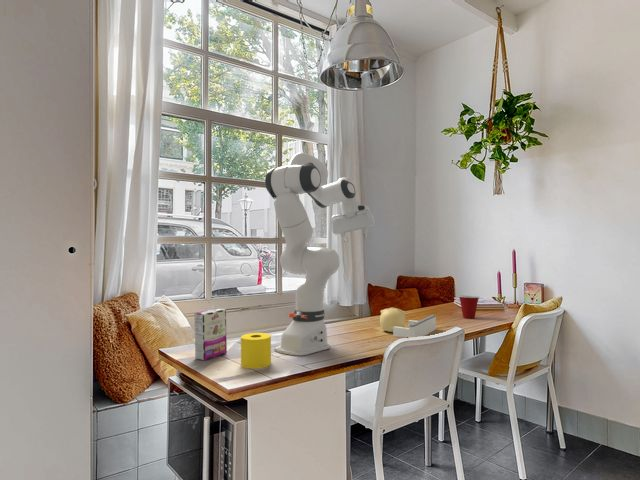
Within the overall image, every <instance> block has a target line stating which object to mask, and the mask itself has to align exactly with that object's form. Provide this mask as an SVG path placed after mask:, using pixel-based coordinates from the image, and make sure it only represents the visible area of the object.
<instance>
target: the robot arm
mask: <svg viewBox="0 0 640 480" xmlns="http://www.w3.org/2000/svg"><path fill="white" fill-rule="evenodd" d="M328 177H329V171H328V168H327V166H326V164H324V162H322V161H321V160H320V159H319V158H317V157H315V156H313V155H312V154H310V153H306V152H303V151H302V152H298V153H296V154H294V155H293V156H292V157H291V159H290V162H289V165H284V166H279V167H273V168H272V169H271V168H270V169H269V170H268V171H267V172H266V174H265V177H264V187H265V188H266V189H265V190H267V193H268V194H269V195H270V196H271V197H272V199H273V200H274V201H273V205H274V212H275V216H276V219H277V221H278V224H279V227H280V229H281V232H282V234H283V237H284V240H285V247H284V249H283V251H282V252H281V255H280V258H279V263H280V267H281V269H282V270H283V271H284V272H287V273H290V274H293V275H303V276H304V275H306V280H305V281H304V283H303V284H301V285H299V286H297V289H296V290H295V309H294V311H293V312H289V313H288V317H289V318H291V319H292V321H291V322H290V323H289V325H288V326H287V328H286V329H285V330H284V331H283V332H282V334H281V340H280V344H279V345H278V346H275V347H274V352H277V353H280V354H285V355H290V356H306V355H310V354H313V353H317V352H321V351H324V350H328V349H331V346H330V344H329V342H328V331H327V330H328V329H327V325H326V324H325V314H326V313H325V309H324V295H325V294H324V293H325V288H326V285H327V284H328V281H329V279H330V278H331V276H333V275H334V274H335V273H336V272H337V271H338V269H339V267H340V263H341V261H340V260H341V259H340V256H339V253H338V252H337V251H336V250H335V249H331V248H328V247H322V246H320V247H319V246H317V247H316V246H313V247H311V246H309V245H308V244H307V243H308V242H309V241H310V240H311V239H312V237H313V233H314V230H313V227H312V224H311V221H310V219H309V216H308V214H307V211H306V209H305V206H304V204H303V202H302V200H301V199H300V195H303V194H307V195H308V196H310V198H312V200H313V201H314V203H315V205H317V206H318V207H320V208H322V209H325V208H327V207H329V206H333V205H336V204H339V203H340V211H341V213H339V214H334V215H332V216H331V217H330V224H331V227H332V228H331V230H332V233H333V234H334V235H335V236H336V235H337V236H338V235H340V236H341V238H343V241H344V243H347V242H349V239H348V237H345V233H351V232H354V231H358V230H363V229H364V230H365V231H364V233H363V234H362V235H363V238H368V233H369V228H371V227H374V226H375V225H376V222H375V216H374V215H373V214H372V212H371V208H370V207H369V206H368V205H365V204H360V203H359V201H358V191H357V187H356V185H355V181H354V179H353V178H352V177H350V176H342V177H340V178H339V179H338V180H336V181H334V182H331V183H327V184H326V182H327V181H328Z"/></svg>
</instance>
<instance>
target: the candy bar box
mask: <svg viewBox="0 0 640 480" xmlns="http://www.w3.org/2000/svg"><path fill="white" fill-rule="evenodd" d="M194 343H195V344H194V345H195V346H194V347H195V348H194V350H195V351H194V352H195V353H194V354H195V359H196V360H199V361H200V360H201V361H208V360H211V359H214V358H216V357H219V356H222V355H225V354H227V353H228V352H227V350H228V348H227V347H228V346H227V343H228V342H227V309H225V308H215V309H214V308H213V309H209V310H204V311H199V312H195V313H194Z"/></svg>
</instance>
